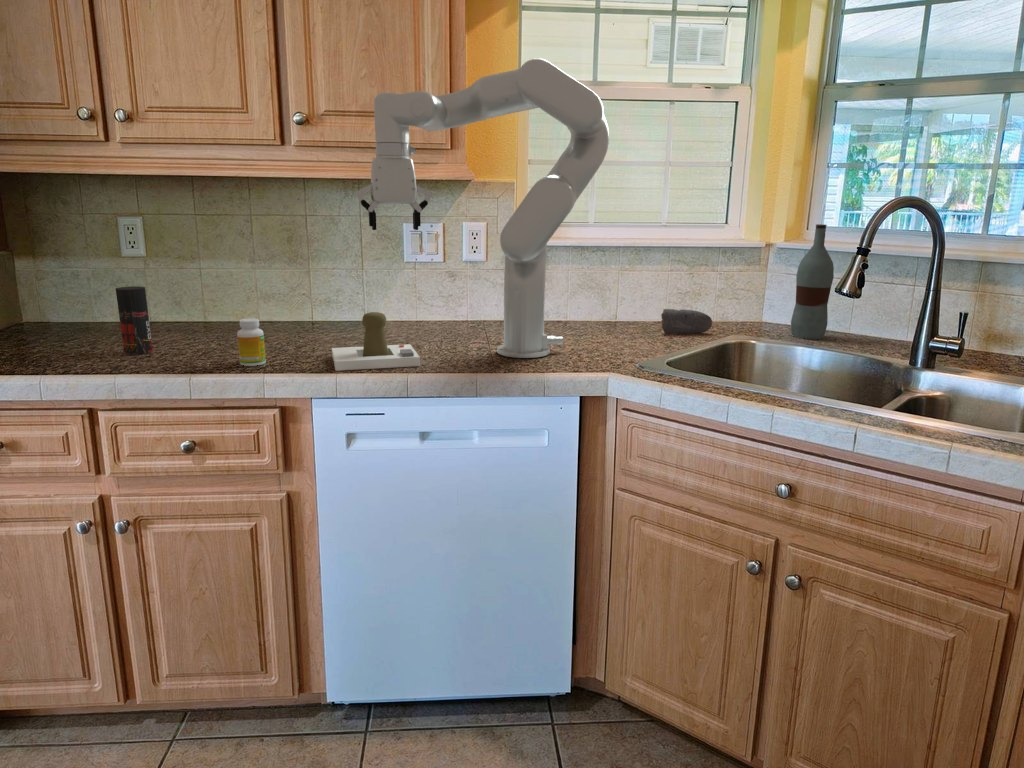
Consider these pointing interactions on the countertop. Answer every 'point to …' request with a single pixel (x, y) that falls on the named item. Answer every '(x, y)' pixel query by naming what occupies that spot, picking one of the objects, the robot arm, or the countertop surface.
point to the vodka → (813, 290)
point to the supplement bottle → (251, 343)
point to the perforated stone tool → (685, 321)
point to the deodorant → (134, 320)
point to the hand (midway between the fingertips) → (395, 229)
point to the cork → (374, 334)
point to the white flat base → (374, 358)
